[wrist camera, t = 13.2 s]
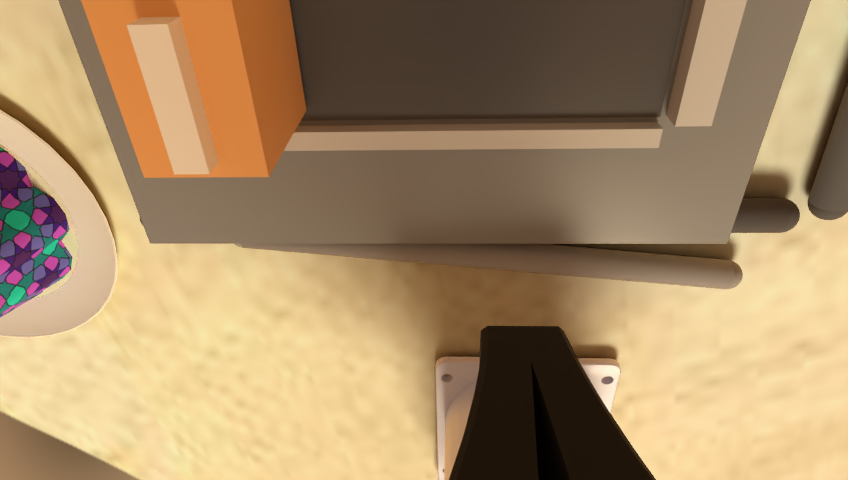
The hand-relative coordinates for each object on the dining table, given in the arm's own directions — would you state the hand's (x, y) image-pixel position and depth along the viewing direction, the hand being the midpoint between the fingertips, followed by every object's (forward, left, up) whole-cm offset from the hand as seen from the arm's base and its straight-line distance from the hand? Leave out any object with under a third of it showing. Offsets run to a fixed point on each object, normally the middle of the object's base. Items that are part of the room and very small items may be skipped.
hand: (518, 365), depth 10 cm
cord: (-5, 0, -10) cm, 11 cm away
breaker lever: (+3, +7, -9) cm, 11 cm away
